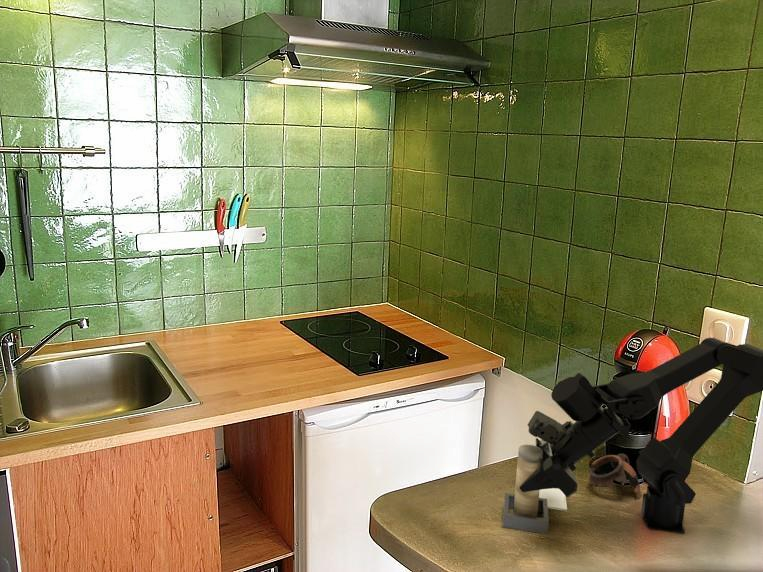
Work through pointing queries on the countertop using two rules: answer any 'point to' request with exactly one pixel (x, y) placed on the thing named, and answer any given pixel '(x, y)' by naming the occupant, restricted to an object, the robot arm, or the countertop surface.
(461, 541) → the countertop surface
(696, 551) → the countertop surface
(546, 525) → the metal holder
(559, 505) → the off-white pad
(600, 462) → the pottery mug
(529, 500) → the beige cylinder grey cap
